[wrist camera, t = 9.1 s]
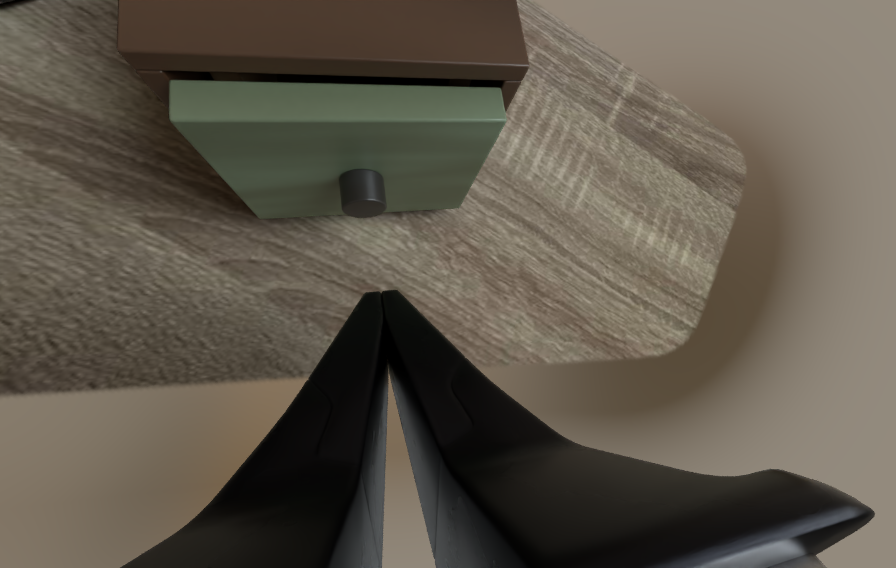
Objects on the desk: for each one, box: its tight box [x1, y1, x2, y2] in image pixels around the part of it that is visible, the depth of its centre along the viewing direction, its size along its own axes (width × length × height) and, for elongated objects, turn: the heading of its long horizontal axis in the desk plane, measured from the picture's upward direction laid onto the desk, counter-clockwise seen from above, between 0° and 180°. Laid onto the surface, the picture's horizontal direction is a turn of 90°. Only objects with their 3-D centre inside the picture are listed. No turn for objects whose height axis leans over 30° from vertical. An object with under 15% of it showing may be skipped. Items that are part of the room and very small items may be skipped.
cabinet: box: [117, 0, 529, 112], centre depth 14 cm, size 10×10×8 cm
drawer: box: [169, 72, 507, 219], centre depth 13 cm, size 10×9×7 cm
